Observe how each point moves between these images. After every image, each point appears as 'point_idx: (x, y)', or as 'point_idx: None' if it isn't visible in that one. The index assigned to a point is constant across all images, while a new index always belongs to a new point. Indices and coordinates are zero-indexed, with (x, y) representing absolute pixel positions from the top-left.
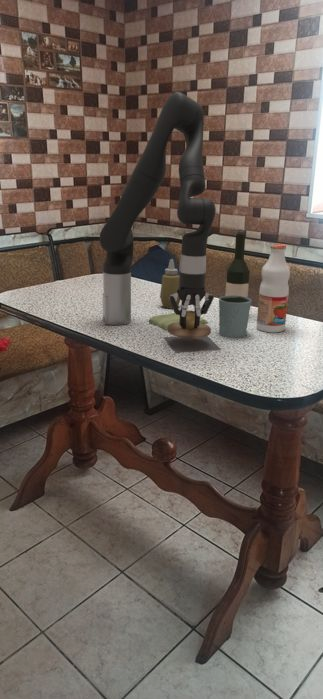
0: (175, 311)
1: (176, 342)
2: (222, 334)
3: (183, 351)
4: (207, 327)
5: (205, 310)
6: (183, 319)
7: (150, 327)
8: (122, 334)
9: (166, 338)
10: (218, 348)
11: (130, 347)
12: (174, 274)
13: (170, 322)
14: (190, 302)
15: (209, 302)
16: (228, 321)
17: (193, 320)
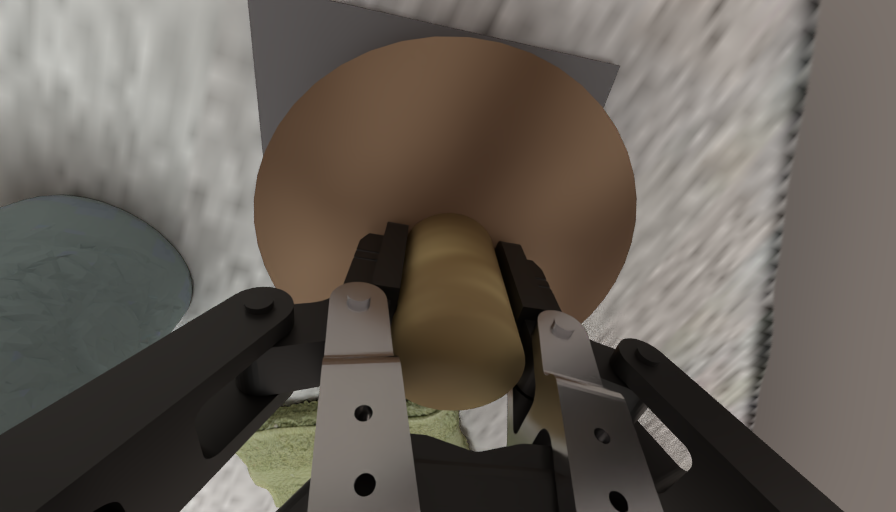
0: (681, 376)
1: None
2: (170, 265)
3: (556, 63)
4: (279, 225)
5: (236, 324)
6: (539, 291)
7: (487, 431)
8: None
9: None
10: (264, 19)
11: (729, 265)
12: None
13: (425, 430)
14: (513, 501)
15: (36, 459)
16: (40, 297)
17: (432, 260)
